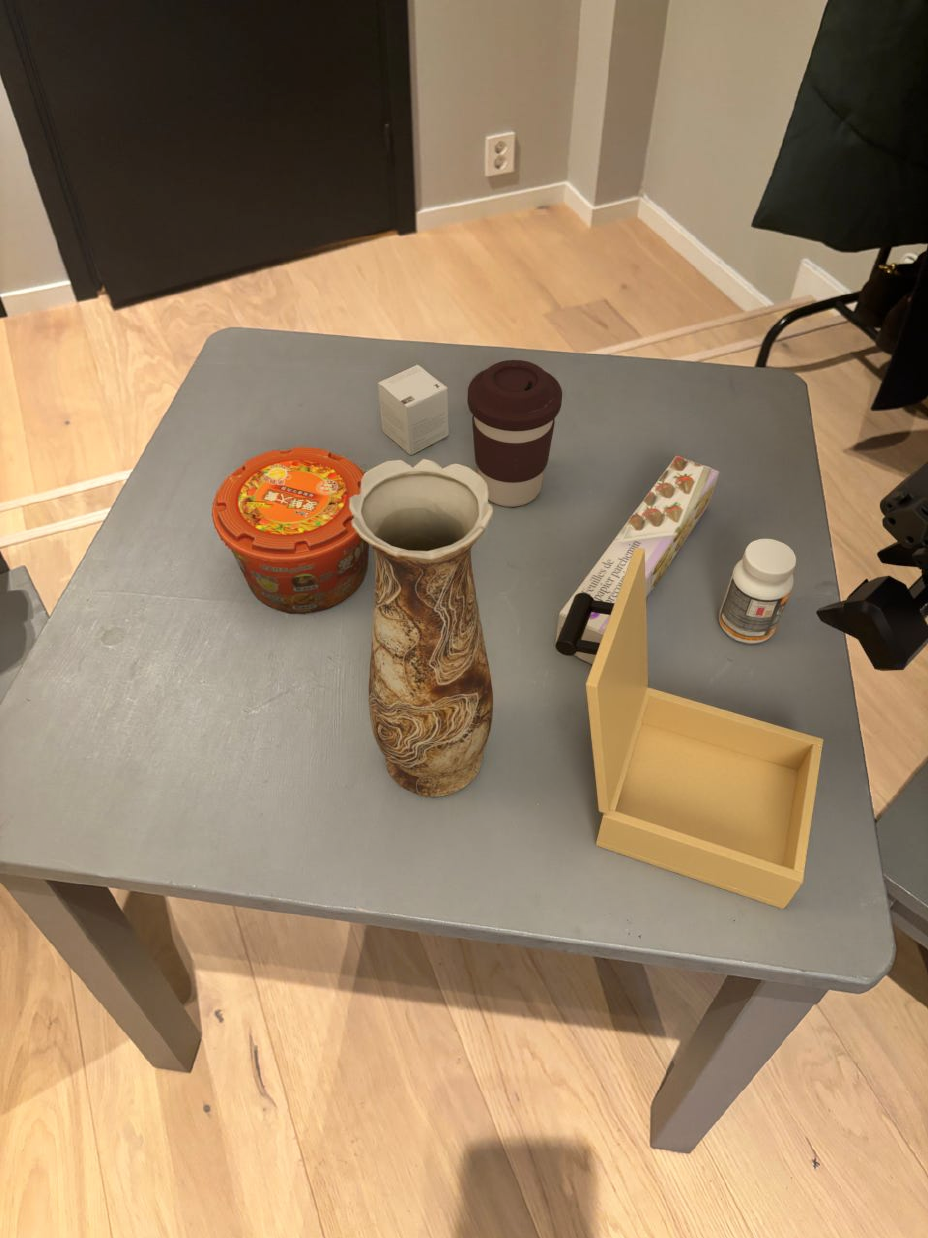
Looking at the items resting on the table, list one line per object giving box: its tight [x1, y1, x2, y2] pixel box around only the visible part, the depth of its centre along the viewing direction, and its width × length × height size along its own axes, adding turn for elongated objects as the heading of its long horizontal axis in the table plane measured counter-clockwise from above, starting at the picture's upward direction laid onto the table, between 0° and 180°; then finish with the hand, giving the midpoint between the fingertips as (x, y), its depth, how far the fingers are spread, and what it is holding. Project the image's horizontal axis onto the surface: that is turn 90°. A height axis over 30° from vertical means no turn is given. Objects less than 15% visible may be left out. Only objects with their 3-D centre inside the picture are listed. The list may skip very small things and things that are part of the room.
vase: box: [349, 458, 494, 798], centre depth 70 cm, size 10×11×30 cm
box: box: [554, 455, 720, 665], centre depth 93 cm, size 27×5×6 cm, turn 147°
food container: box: [211, 446, 370, 615], centre depth 92 cm, size 16×16×11 cm
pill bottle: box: [718, 538, 797, 644], centre depth 87 cm, size 6×6×10 cm
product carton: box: [377, 364, 450, 456], centre depth 107 cm, size 6×6×7 cm
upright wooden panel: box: [554, 548, 649, 814], centre depth 70 cm, size 16×14×4 cm
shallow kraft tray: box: [595, 686, 824, 910], centre depth 76 cm, size 16×14×5 cm
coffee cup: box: [467, 359, 563, 508], centre depth 98 cm, size 10×10×15 cm
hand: (850, 585), depth 77 cm, fingers open, 9 cm apart
